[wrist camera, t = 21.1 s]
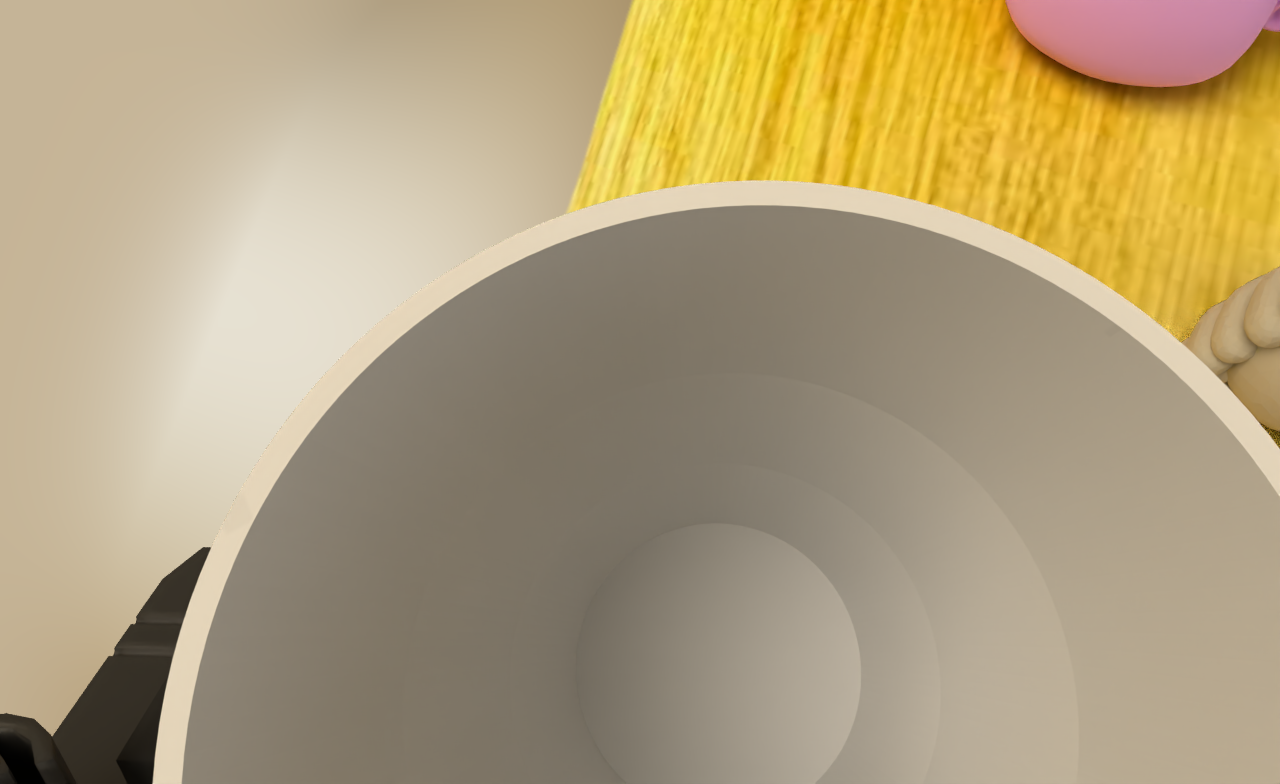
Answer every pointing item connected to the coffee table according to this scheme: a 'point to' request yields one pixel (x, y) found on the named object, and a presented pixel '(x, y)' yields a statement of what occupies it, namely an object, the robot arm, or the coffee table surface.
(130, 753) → the robot arm
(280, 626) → the cup
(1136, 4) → the teapot
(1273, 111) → the coffee table surface
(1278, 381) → the decorative object
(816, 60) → the coffee table surface
